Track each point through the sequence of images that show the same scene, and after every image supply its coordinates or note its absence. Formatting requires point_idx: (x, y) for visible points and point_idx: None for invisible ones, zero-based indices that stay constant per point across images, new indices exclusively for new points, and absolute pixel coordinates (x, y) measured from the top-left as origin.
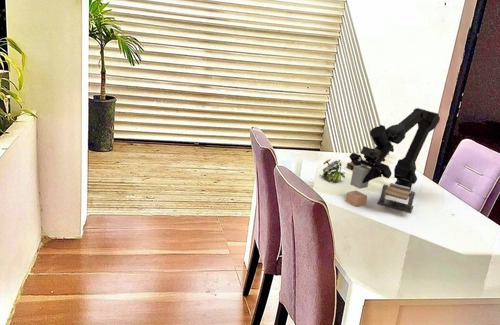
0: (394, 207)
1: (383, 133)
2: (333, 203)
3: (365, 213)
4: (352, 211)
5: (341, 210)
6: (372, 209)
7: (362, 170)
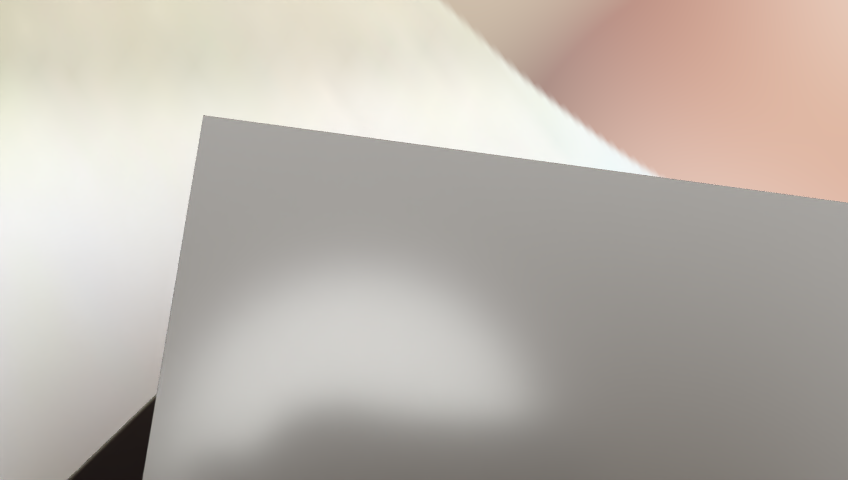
0: None
1: None
2: (497, 105)
3: (51, 212)
4: (202, 103)
5: (301, 4)
6: (67, 462)
7: (284, 141)
